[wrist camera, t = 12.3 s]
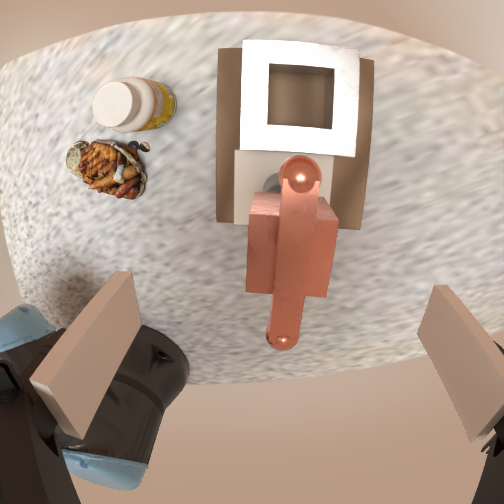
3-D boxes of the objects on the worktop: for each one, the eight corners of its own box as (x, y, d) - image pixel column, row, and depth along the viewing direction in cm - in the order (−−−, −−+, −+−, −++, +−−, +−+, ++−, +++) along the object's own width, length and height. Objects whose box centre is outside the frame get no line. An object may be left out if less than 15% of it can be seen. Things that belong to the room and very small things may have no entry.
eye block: (245, 144, 29) (240, 149, 25) (247, 52, 25) (243, 39, 21) (342, 151, 29) (354, 157, 24) (346, 59, 25) (359, 49, 20)
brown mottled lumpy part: (71, 137, 31) (55, 140, 28) (152, 141, 31) (139, 143, 28) (70, 189, 34) (54, 196, 31) (147, 199, 34) (135, 207, 31)
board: (218, 219, 34) (216, 222, 33) (220, 50, 26) (218, 48, 25) (357, 226, 33) (360, 230, 32) (371, 62, 25) (374, 60, 24)
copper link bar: (262, 136, 28) (249, 154, 12) (308, 140, 28) (356, 163, 12) (257, 239, 33) (241, 354, 17) (299, 242, 33) (320, 358, 17)
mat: (234, 222, 33) (233, 224, 32) (235, 149, 30) (234, 150, 29) (325, 227, 33) (326, 229, 32) (332, 155, 29) (333, 155, 29)
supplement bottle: (180, 84, 28) (145, 72, 19) (173, 131, 30) (136, 137, 21) (136, 82, 28) (90, 74, 19) (130, 127, 30) (83, 134, 21)
